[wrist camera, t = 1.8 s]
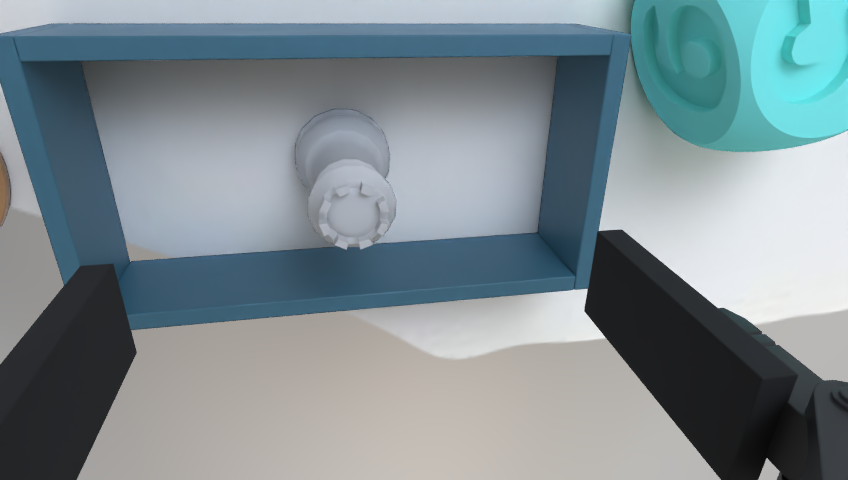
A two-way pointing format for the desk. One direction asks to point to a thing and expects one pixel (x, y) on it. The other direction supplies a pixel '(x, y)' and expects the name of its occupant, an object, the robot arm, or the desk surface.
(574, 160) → the tote
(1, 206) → the coaster
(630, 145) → the desk surface
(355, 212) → the rook chess piece
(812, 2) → the decorative dice
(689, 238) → the desk surface
